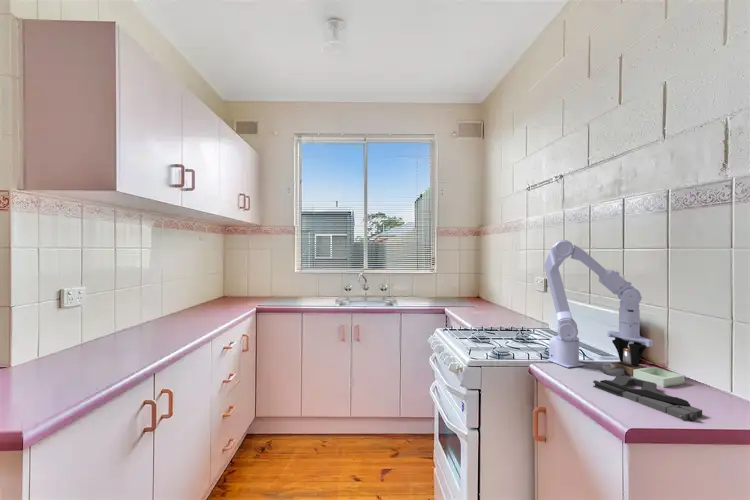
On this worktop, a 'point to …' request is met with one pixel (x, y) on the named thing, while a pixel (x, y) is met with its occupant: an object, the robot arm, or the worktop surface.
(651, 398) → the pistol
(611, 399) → the worktop surface
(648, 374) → the tray
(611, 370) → the brown open box
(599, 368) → the worktop surface
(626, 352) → the glass jar
